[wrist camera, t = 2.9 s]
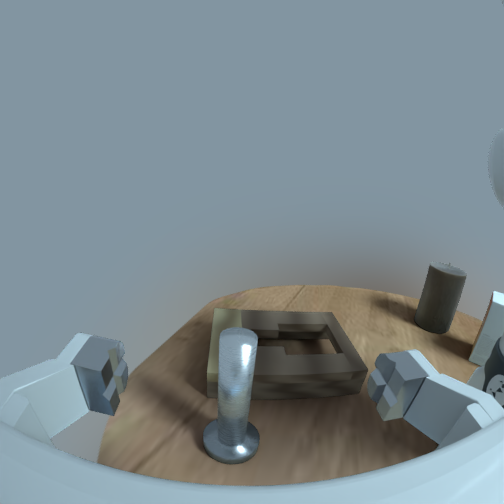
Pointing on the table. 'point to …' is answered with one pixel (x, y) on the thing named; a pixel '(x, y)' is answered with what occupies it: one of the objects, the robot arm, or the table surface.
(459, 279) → the pillar candle
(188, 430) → the table surface
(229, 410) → the footed peg
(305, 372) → the keyhole plate
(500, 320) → the small box
